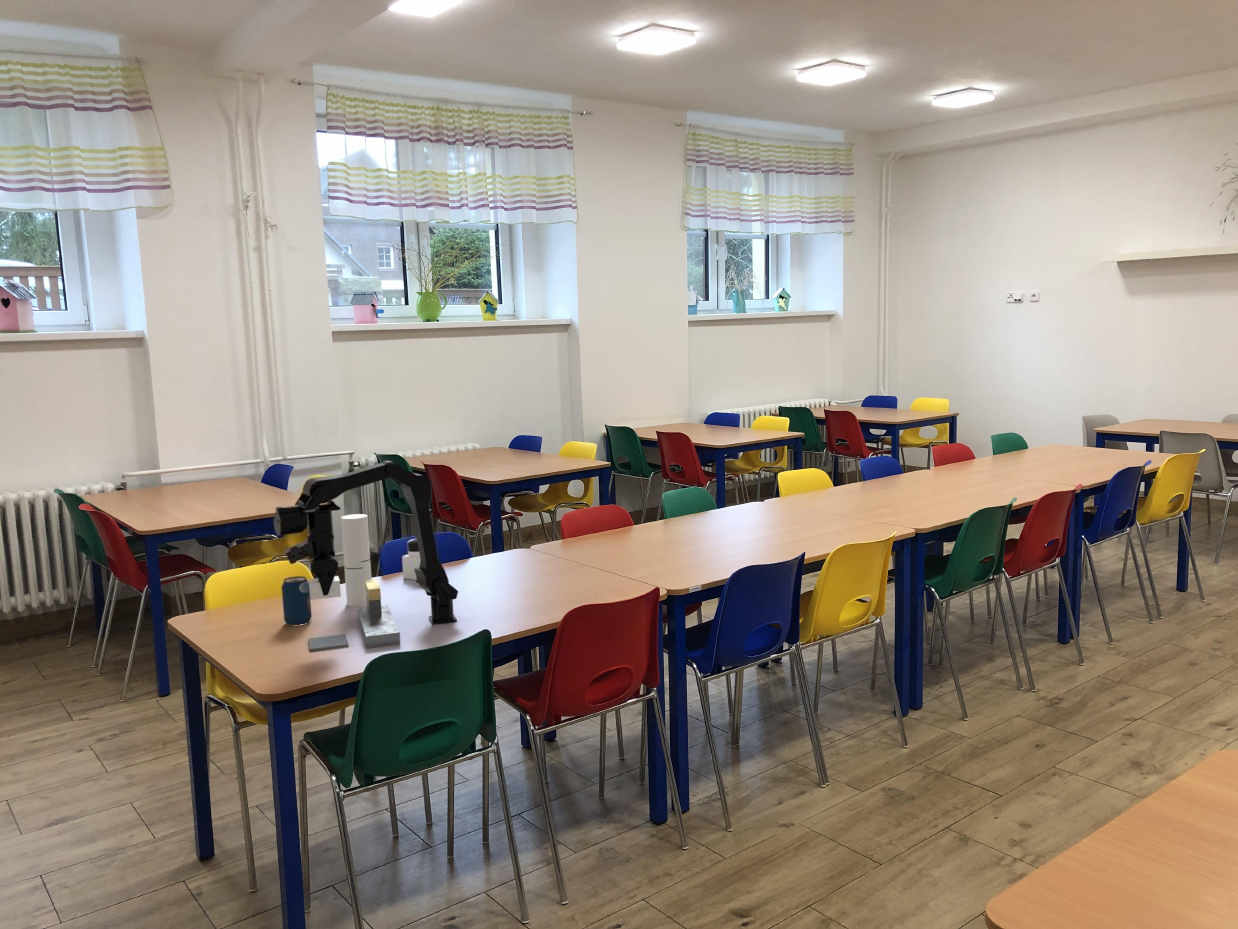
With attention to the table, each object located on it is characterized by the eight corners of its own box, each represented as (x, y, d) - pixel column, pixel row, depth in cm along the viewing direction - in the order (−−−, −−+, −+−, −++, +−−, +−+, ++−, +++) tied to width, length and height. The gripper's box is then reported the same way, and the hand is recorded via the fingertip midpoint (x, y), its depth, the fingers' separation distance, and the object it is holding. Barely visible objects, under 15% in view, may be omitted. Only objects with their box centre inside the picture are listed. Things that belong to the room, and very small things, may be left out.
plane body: (357, 619, 255) (356, 594, 254) (388, 616, 258) (386, 590, 257) (366, 648, 231) (365, 620, 230) (400, 644, 233) (398, 616, 232)
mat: (308, 640, 238) (308, 638, 238) (345, 636, 241) (345, 633, 241) (309, 651, 230) (309, 649, 230) (348, 646, 233) (348, 644, 233)
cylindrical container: (377, 602, 272) (372, 515, 268) (355, 608, 266) (349, 519, 263) (364, 598, 276) (358, 513, 273) (342, 603, 271) (336, 517, 268)
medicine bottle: (435, 575, 301) (433, 538, 299) (419, 581, 295) (417, 542, 293) (419, 573, 304) (416, 536, 303) (402, 578, 299) (400, 540, 297)
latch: (365, 591, 255) (364, 580, 255) (376, 590, 256) (376, 579, 256) (369, 601, 246) (368, 589, 246) (380, 599, 247) (380, 588, 247)
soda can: (316, 622, 254) (313, 578, 252) (292, 628, 249) (288, 583, 247) (304, 617, 259) (300, 574, 257) (279, 623, 254) (276, 579, 252)
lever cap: (309, 595, 235) (308, 579, 234) (339, 591, 237) (338, 576, 237) (310, 600, 230) (309, 583, 230) (340, 596, 233) (339, 580, 232)
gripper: (285, 526, 238) (289, 587, 240) (286, 540, 220) (291, 606, 222) (331, 522, 241) (335, 582, 243) (336, 535, 224) (340, 600, 226)
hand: (325, 592), depth 234 cm, fingers closed on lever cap, 5 cm apart
